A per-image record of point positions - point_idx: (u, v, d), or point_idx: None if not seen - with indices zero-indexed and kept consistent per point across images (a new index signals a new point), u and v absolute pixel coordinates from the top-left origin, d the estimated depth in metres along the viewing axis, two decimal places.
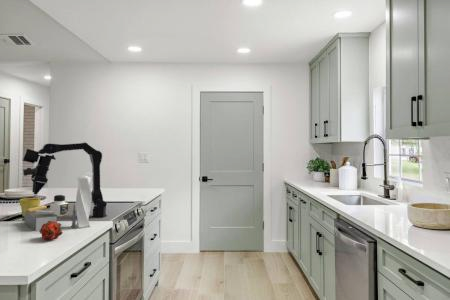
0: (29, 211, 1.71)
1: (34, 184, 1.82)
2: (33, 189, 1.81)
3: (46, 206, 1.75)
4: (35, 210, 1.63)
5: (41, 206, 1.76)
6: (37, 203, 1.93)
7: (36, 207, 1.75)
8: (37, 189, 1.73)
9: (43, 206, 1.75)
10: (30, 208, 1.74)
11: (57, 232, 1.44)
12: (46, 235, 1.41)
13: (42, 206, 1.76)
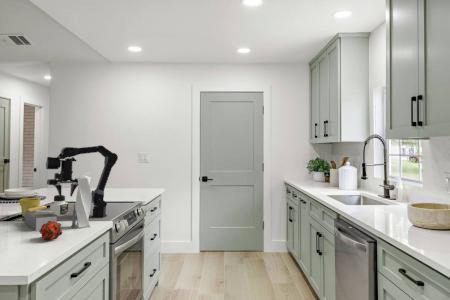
0: (29, 211, 1.71)
1: (71, 188, 1.88)
2: (70, 193, 1.88)
3: (46, 206, 1.75)
4: (35, 210, 1.63)
5: (41, 206, 1.76)
6: (37, 203, 1.93)
7: (36, 207, 1.75)
8: (58, 191, 1.83)
9: (43, 206, 1.75)
10: (30, 208, 1.74)
11: (57, 232, 1.44)
12: (46, 235, 1.41)
13: (42, 206, 1.76)
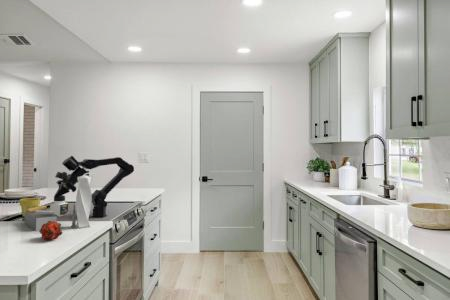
0: (29, 211, 1.71)
1: None
2: None
3: (46, 206, 1.75)
4: (35, 210, 1.63)
5: (41, 206, 1.76)
6: (37, 203, 1.93)
7: (36, 207, 1.75)
8: (59, 193, 1.81)
9: (43, 206, 1.75)
10: (30, 208, 1.74)
11: (57, 232, 1.44)
12: (46, 235, 1.41)
13: (42, 206, 1.76)
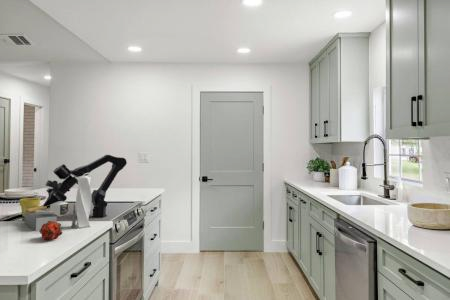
0: (29, 211, 1.71)
1: None
2: None
3: (46, 206, 1.75)
4: (35, 210, 1.63)
5: (41, 206, 1.76)
6: (37, 203, 1.93)
7: (36, 207, 1.75)
8: (48, 202, 1.77)
9: (43, 206, 1.76)
10: (30, 208, 1.74)
11: (57, 232, 1.44)
12: (46, 235, 1.41)
13: (42, 206, 1.76)
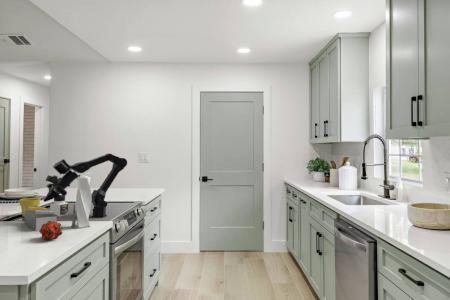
0: (29, 208, 1.71)
1: None
2: None
3: None
4: (35, 210, 1.63)
5: None
6: (37, 203, 1.93)
7: (37, 207, 1.75)
8: (49, 197, 1.77)
9: (44, 208, 1.76)
10: None
11: (57, 232, 1.44)
12: (46, 235, 1.41)
13: (43, 208, 1.76)
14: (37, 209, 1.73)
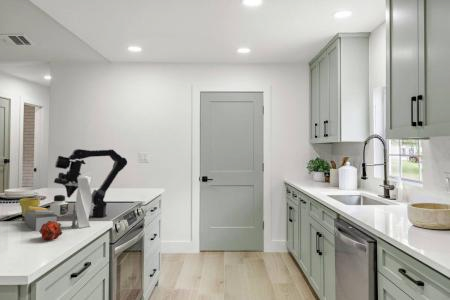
0: (29, 208, 1.71)
1: None
2: None
3: (46, 209, 1.76)
4: (35, 210, 1.63)
5: (42, 208, 1.76)
6: (37, 203, 1.93)
7: (37, 207, 1.75)
8: (68, 192, 1.87)
9: (44, 208, 1.76)
10: (31, 206, 1.74)
11: (57, 232, 1.44)
12: (46, 235, 1.41)
13: (43, 208, 1.76)
14: (37, 209, 1.73)
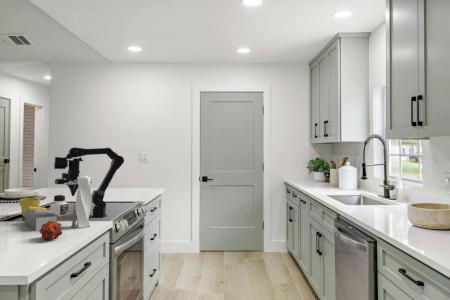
0: (29, 208, 1.71)
1: None
2: None
3: (46, 209, 1.76)
4: (35, 210, 1.63)
5: None
6: (37, 203, 1.93)
7: (37, 207, 1.75)
8: (71, 190, 1.89)
9: (44, 208, 1.76)
10: None
11: (57, 232, 1.44)
12: (46, 235, 1.41)
13: (43, 208, 1.76)
14: (37, 209, 1.73)
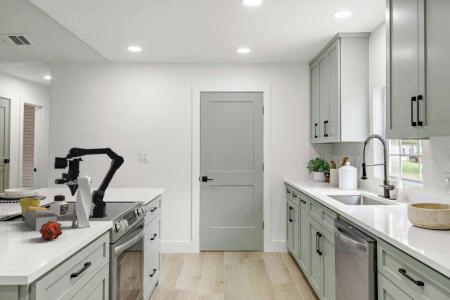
0: (29, 208, 1.71)
1: None
2: None
3: (46, 209, 1.76)
4: (35, 210, 1.63)
5: None
6: (37, 203, 1.93)
7: (37, 207, 1.75)
8: (71, 190, 1.89)
9: (44, 208, 1.76)
10: None
11: (57, 232, 1.44)
12: (46, 235, 1.41)
13: (43, 208, 1.76)
14: (37, 209, 1.73)
